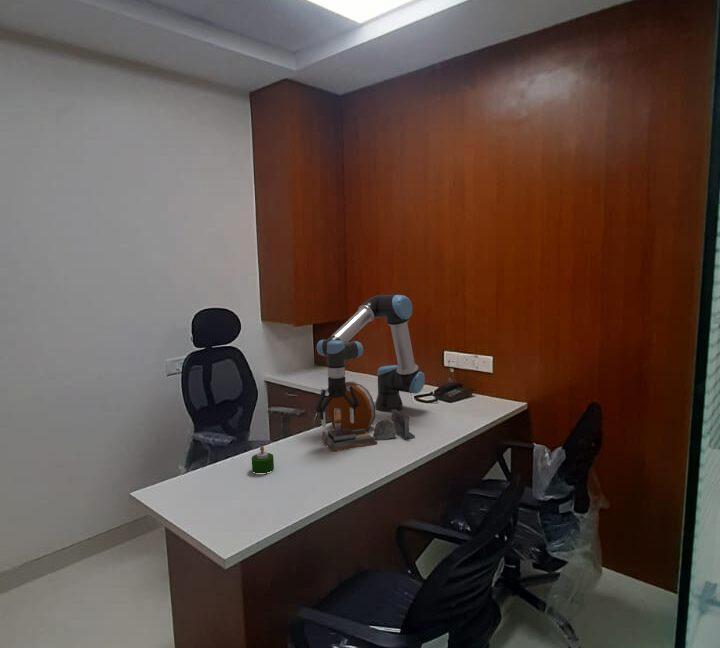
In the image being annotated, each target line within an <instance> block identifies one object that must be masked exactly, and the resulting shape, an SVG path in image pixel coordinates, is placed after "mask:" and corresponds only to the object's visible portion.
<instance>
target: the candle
mask: <svg viewBox="0 0 720 648" xmlns="http://www.w3.org/2000/svg"><path fill="white" fill-rule="evenodd" d="M259 449H260V451H259V452H257V453H256V454H254V455H252V456H251V470H252V471H253V472H255V473H267V472H270V471H272V470H273V469H274V470H275V465H274V464H275V463H274V462H275V461H274V455H273V453H270V452H268V451H264V450H265V447H264V446H263V445H260V448H259ZM252 471H251V472H252ZM253 472H252V473H253Z"/></svg>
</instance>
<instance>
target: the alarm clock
mask: <svg viewBox="0 0 720 648" xmlns="http://www.w3.org/2000/svg"><path fill="white" fill-rule="evenodd" d="M349 385H350V386H352V387H353V392H354V394H355V396H356V399H357V401H358V403H359V406H357V407H356V409H355V413H356V414H355V415H354V423H351V422H350V407H352V406H351V405H350V404H349V403H348V402H347V401H346V400H345V398H344V397H343V396H342V397H341V398H339V397H338V398H333V399H332V400H331V401H330V403H329V404H328V406H327V407H328V408H327V413H328V416H329V417H328V418H329V421H330V423H331V425H332V426H333V427H334V428H335V423H334V409H335V408H341V416H342V423H341V429H347V428H350V429H351V430H359V429H365V431H366V430H367V429H369V428H370V427H371V426H372V425H373V424H374V422H375V418H376V408H375V403H374V402H375V401H374V399H373V396H372V395H371V393H370V391H369V390H368V389H367V388H366V387H365V386H364V385H362V384H360V383H357V382H356V381H345V386H346V387H348V386H349ZM345 394H346V396H347V397H348V398H349V399H350V400H351V402H352V403H353V404H355V403H354V401H353V399H352V397H351V395H350V393H349V391H348V390H346V391H345Z"/></svg>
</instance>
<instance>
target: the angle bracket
mask: <svg viewBox="0 0 720 648" xmlns="http://www.w3.org/2000/svg"><path fill="white" fill-rule="evenodd" d="M391 420H392V421H393V422H394V424H395V426H396V427H395V428H396V434H397V435H398V436H400V437H401V438H402V439H404V440H405V441H406V440H411V439H415V438H416V435H414V434H413V433H412V432H410V418H409V416H408V415H405V414H404V413H402V412H401V411H400V410H396V409H393V410H392V411H391Z"/></svg>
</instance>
